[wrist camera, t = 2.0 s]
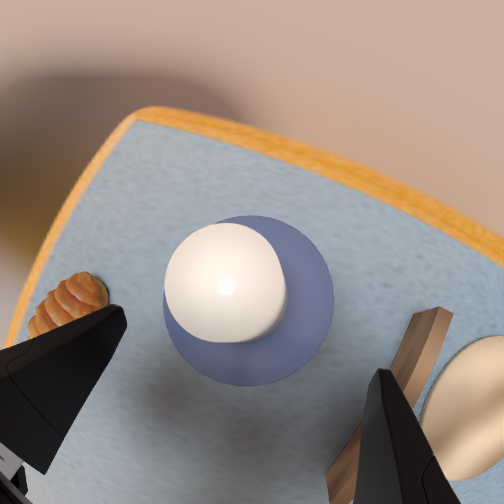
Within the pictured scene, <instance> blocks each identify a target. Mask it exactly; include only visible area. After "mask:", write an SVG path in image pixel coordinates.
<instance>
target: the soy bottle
mask: <svg viewBox="0 0 504 504" xmlns="http://www.w3.org/2000/svg"><path fill="white" fill-rule="evenodd" d="M333 303H334V295H333V285H332V280H331V276H330V273H329V270H328V267H327V265H326V263H325V261H324V259H323V257H322V255H321V254H320V252H319V251H318V249H317V248H316V246H315V245H314V244H313V243H312V242H311V241H310V240H309V239H308V238H307V237H306V236H305V235H303V234H302V233H301V232H300V231H298V230H297V229H295V228H294V227H292V226H290V225H288V224H286V223H284V222H282V221H279V220H276V219H272V218H269V217H263V216H238V217H233V218H228V219H225V220H222V221H219V222H217V223H215V224H213V225H210V226H207V227H204V228H202V229H200V230H198V231H196V232H194V233H193V234H191V235H190V236H189V237H187V238H186V239H185V240H184V241H183V242H182V243H181V244H180V245H179V247H178V248H177V249H176V251H175V252H174V254H173V256H172V257H171V260H170V262H169V264H168V267H167V271H166V276H165V289H164V299H163V308H164V317H165V322H166V326H167V329H168V332H169V335H170V337H171V339H172V341H173V343H174V345H175V347H176V348H177V350H178V351H179V353H180V354H181V355H182V356H183V357H184V359H185V360H186V361H187V362H188V363H189V364H190V365H191V366H193V367H194V368H195V369H196V370H198V371H199V372H201V373H202V374H204V375H205V376H207V377H209V378H212V379H214V380H216V381H219V382H222V383H225V384H230V385H236V386H256V385H263V384H267V383H271V382H274V381H277V380H279V379H282V378H284V377H286V376H288V375H290V374H291V373H293V372H295V371H296V370H297V369H299V368H300V367H301V366H302V365H304V364H305V363H306V362H307V361H308V360H309V359H310V358H311V357H312V356H313V355H314V353H315V352H316V350H317V349H318V348H319V346H320V345H321V343H322V341H323V339H324V337H325V336H326V333H327V331H328V328H329V325H330V322H331V318H332V313H333Z"/></svg>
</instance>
